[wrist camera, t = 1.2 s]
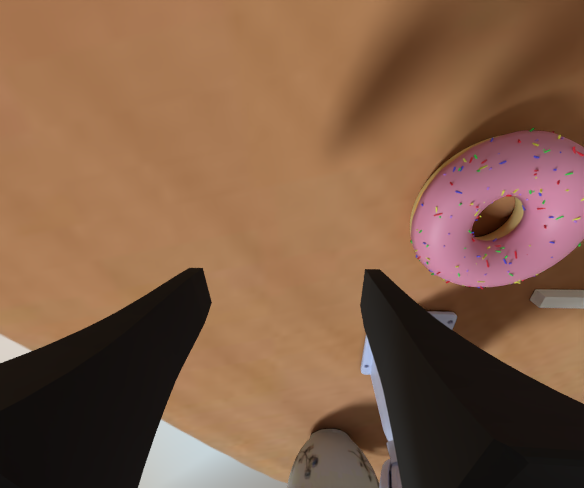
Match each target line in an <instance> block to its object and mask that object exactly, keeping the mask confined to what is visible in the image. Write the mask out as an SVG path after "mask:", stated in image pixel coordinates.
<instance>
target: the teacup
mask: <svg viewBox="0 0 584 488" xmlns="http://www.w3.org/2000/svg"><path fill="white" fill-rule="evenodd" d="M287 488H379V482H378V479H377V477H376V475H375V472H374V470H373V468H372V466H371V464H370V463H369V461H368V459H367V458H366V456H365V455H364V453H363V452H362V451H361V449H360V448H359V447H358V446H357V445H356V444H355V443H354V442H353V441H352V440H351V439H350V437H349V436H348V435H347V434H346V433H345V432H343V431H341V430H338V429H322V430H319V431H317V432H315V433H312V434H311V436H310V439H309V440H308V441H307V442H306V443H305V444H304V446H303V447H302V448H301V450H300V452H299V453H298V455H297V457H296V459H295V461H294V464H293V467H292V470H291V473H290V476H289V480H288V485H287Z"/></svg>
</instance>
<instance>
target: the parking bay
mask: <svg viewBox="0 0 584 488" xmlns="http://www.w3.org/2000/svg"><path fill="white" fill-rule="evenodd" d="M530 301H532V302H533V303H534V304H535V305H536V306H538V307H539V308H584V290H550V289H535V291H534V293H533V295H532V296H531V298H530Z"/></svg>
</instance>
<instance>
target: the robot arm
mask: <svg viewBox="0 0 584 488" xmlns="http://www.w3.org/2000/svg"><path fill="white" fill-rule="evenodd" d="M211 303H212V302H211V298H210V295H209V291H208V287H207V283H206V279H205V275H204V271H203V268H189V269H187V270H185V271H183V272H182V273H180V274H178V275H177V276H175V277H173V278H172V279H170V280H169V281H167V282H166V283H164V284H162V285H161V286H159V287H158V288H156V289H155V290H153V291H151V292H150V293H148V294H147V295H145V296H143V297H142V298H140V299H138V300H137V301H135V302H133V303H131V304H130V305H128V306H126V307H125V308H123V309H121V310H120V311H118V312H116V313H114V314H112V315H110V316H108V317H107V318H105V319H103V320H101V321H99V322H97V323H95V324H93V325H91V326H89V327H87V328H85V329H82V330H80V331H78V332H76V333H73V334H71V335H69V336H67V337H65V338H62V339H60V340H58V341H56V342H53V343H51V344H49V345H46V346H44V347H41V348H39V349H36V350H34V351H31V352H29V353H26V354H24V355H21V356H19V357H16V358H13V359H11V360H8V361H5V362H3V363H0V488H138V485H139V482H140V479H141V475H142V472H143V469H144V466H145V463H146V460H147V457H148V454H149V451H150V448H151V445H152V442H153V439H154V436H155V434H156V431H157V428H158V425H159V423H160V420H161V417H162V415H163V412H164V409H165V406H166V404H167V401H168V399H169V396H170V394H171V391H172V389H173V386H174V384H175V381H176V379H177V377H178V375H179V373H180V371H181V369H182V367H183V365H184V363H185V361H186V359H187V357H188V355H189V353H190V351H191V349H192V347H193V345H194V343H195V341H196V339H197V337H198V335H199V333H200V331H201V329H202V327H203V325H204V323H205V321H206V318H207V315H208V312H209V309H210V306H211ZM360 307H361V313H362V318H363V324H364V328H365V332H366V338H365V344H364V351H363V357H362V363H361V373H363V374H370V375H371V379H372V384H373V388H374V392H375V396H376V401H377V405H378V409H379V414H380V418H381V422H382V426H383V430H384V433H385V435H386V438H387V440H388V441H389V442H387V447H388V452H389V456H390V459H388V460H387V461H385V462H384V464H383V466H382V470H381V477H380V483H379V488H584V404H583V403H580V402H578V401H576V400H574V399H572V398H570V397H568V396H566V395H564V394H562V393H560V392H558V391H556V390H554V389H552V388H550V387H548V386H546V385H544V384H542V383H540V382H538V381H536V380H535V379H533V378H531V377H529V376H527V375H525V374H523V373H521V372H520V371H518V370H516V369H514V368H512V367H511V366H509V365H507V364H505V363H504V362H502V361H500V360H498V359H497V358H495V357H493V356H492V355H490V354H488V353H487V352H485V351H483V350H482V349H480V348H478V347H477V346H475V345H474V344H472V343H471V342H469V341H467V340H466V339H464V338H463V337H462V336H460V335H459V334H457V333H456V332H454V331H453V330H452V329H453V327H454V324H455V322H456V319H457V315H456V314H455V313H454V312H437V311H426V310H425V309H423V308H422V307H421V306H420V305H419V304H417V303H416V302H415V301H414V300H413V299H412V298H410V297H409V296H408V295H407V294H406V293H405V292H404V291H403V290H401V289H400V288H399V287H398V286H397V285H396V284H395V283H394V282H393V281H392V280H391V279H390V278H389V277H387V276H386V275H385V274H384V273H383V272H382V271H381V270H380V269H365V274H364V282H363V289H362V297H361V304H360ZM449 320H450V321H449Z"/></svg>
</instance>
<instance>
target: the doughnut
mask: <svg viewBox="0 0 584 488" xmlns="http://www.w3.org/2000/svg"><path fill="white" fill-rule="evenodd" d="M534 129H535V128H532V129H531V130H524V131H517V132H513V133H509V134H505V135H501V136H496V137H492V138H489V139H486V140H483V141H481V142H478V143H476V144H474V145H471V146H469V147H468V148H466V149H464V150H462V151H460V152H459V153H457V154H456V155H454V156H453V157H451V158H450V159H449V160H447V161H446V162H445V163H444V164H443V165H442V166H440V167H439V168H438V169H437V170H436V171H435V172H434V173H433V174H432V176H431V177H430V178H429V179H428V180H427V182H426V183H425V184H424V186H423V187H422V189H421V191H420V192H419V194H418V196H417V198H416V200H415V203H414V206H413V209H412V212H411V218H410V234H411V243H412V245H413V248H414V252H415V253H416V257H418V258H417V259H419V261H420V262H421V263H422V264H423V265H424V266H425V267H426V268H427V269H429V271H431V272H433V273H432V274H431V275H433V274H434V275H438V276H439V277H441V278H443V279H442V280H443V281H444V280H448V281H447V282H446V283H448V282H453V283H456V284H459V285H463V286H468V287H478V288H481V289H482V290H483V288H482V287H487V288H488V287H496V286H503V285H508V284H512V283H519V284H520V281H524V280H525V279H527V278H530V277H532V276H534V277H535V275H538V274H539V273H541V272H544V271H545V270H546V269H548V268H550V267H551V266H553V265H555V264H556V263H557V262H559V261H560V260H562V259H563V258H564V257H566V256H567V255H568V254H569V253H570V252H571V251H573V250H574V249H575V248H576V247H577V246H581V241H582V240H583V239H584V147H582V146H581V145H579V144H578V143H576V142H574V141H572V140H570V139H567V138H565V137H563V136H561V134H560V135H558V134H555V133H554V131H553V132H548V131H536V130H534ZM505 196H514V197H515V208H514V211H513V213H512V215H511V216H510V218H509V219H508V220H507V221H506V222H505V223H504V224H503V225H502V226H501V227H500V228H499V229H497V230H496V231H494V232H492V233H490V234H488V235H485V236H481V237H474V236H475V235H473V233H474V232H472V226H473V224H474V222H475V221H477V220H478V219H477V218H479V217H481V215H480V216H478V215H479V214H480V213H481V212H482V211H483V210H484V209H485V208H486V207H487V206H488V205H489V204H491V203H493V202H494V201H496V200H498V199H500V198H502V197H505Z"/></svg>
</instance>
